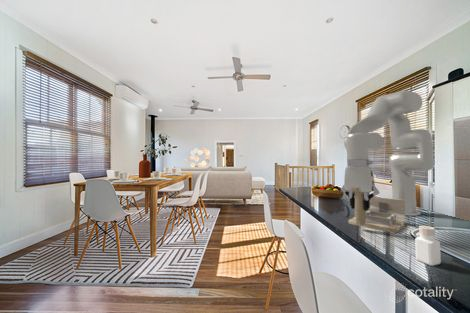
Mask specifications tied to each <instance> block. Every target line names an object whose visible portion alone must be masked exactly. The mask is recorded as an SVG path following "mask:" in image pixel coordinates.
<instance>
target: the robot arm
mask: <svg viewBox="0 0 470 313" xmlns="http://www.w3.org/2000/svg"><path fill="white" fill-rule="evenodd" d="M422 106H423V98H422V96H421V95H420V94H418V92H414V91H408V90H401V91H397V92H391V93H389V94H384V95H381V96H378V97H377V98H376V99H375V100H374V102H373V104H372V105H371V107H370V110H369V111H368V113H367V115H366V116H365V117H363V118H362V119H360V120H359V121H358V122H356V123H355V124H354V125H352V126H351V127H350V129H349V130H348V132H347V133H346V135H345V138H344V142H343V144H344V148H345V150H346V160H347V166H346V167H345V170H344V177H343V178H344V181H343V182H344V184H343V185H342V187H341V188H340V191H341V192H342V193H344V194H345V195H346V196H347V197H348V199H349V206H350V208H351V210H352V209H353V210H354V202H355V195H354V192H353V191H351V187H353V188H360V189H358V191H360V190H361V192H363V193H364V197H365V200H364V210H365V211H367V210H368V209H369V208H370V199H371V198H372V197H376V196H377V195H380V193H381V192H380V191H379V189H378V188H377V187H376V183H375V182H376V181H375V175H374V172H373V168H372V166H370V165H373V164H374V160H370V158H369V152H374V151H378V150H380V149H381V148H382V147H383V145H384V138H383V136H382V135H381V134H379V133H377V132H373V131H378V130H379V129H381V128H383V127H385V126H386V125H387V124H388V126H389V134H390V135H389V136H390V145H391V147H392V148H393V149H395V150H418V151H401V152H400V151H399V152H398V151H397V152H394V153H392V154H390V156H389V157H388V164H389V167H390V172H391V173H390V174H391V190H392V191H391V193H392V199H400V200H404V202H405V216H411V217H413V216H414V217H417V216H420V215H421V214H422V213H421V212H420V211H419V210H417V195H416V194H417V192H416V190H417V188H416V179H415V177H414V175H413V174H412V173H411V172H413V171H415V172H416V171H418V172H421V171H422V172H426V171H432V169H433V168H434V166H435V164H434V163H435V160H434V158H435V157H434V147H433V137H432V134H431V132H430V131H429V130H428V129H423V128H422V129H412V128H411V121H410V119H409V117H408V116H406V115H405V114H408V113H414V112H418V111H419V110H421V108H422ZM410 171H411V172H410Z"/></svg>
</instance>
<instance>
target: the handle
mask: <svg viewBox="0 0 470 313" xmlns="http://www.w3.org/2000/svg"><path fill="white" fill-rule="evenodd" d="M358 189H360V188H353V187H351V191H353V192H354V198H355V202H354V209H353V210H354V217H355V219H356V224H359V225H365V220H366V211H365V210H364V200H365V199H364V193H363V192H361V190H360V191H358Z"/></svg>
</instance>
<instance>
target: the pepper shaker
mask: <svg viewBox="0 0 470 313" xmlns="http://www.w3.org/2000/svg"><path fill="white" fill-rule="evenodd" d="M418 230H419V231H418V232H419V233H418V234H419V236H417V237H416V238H415V239H414V244H415V248H414V249H415V259H416V260H417V261H419V262H421V263H423V264H426V265H428V266H431V267H432V266H437V265H440V264H441V262H442V261H441V258H442V256H441V242H440V241H439V240H437V239H436V228H435V227H432V226H429V225H419V226H418Z"/></svg>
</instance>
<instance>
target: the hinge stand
mask: <svg viewBox="0 0 470 313" xmlns="http://www.w3.org/2000/svg"><path fill="white" fill-rule="evenodd" d="M364 199H365V197H364ZM347 223H348V224H349V225H353V226H359V227H364V228H368V229H374V230H379V231H383V232H387V233H393V234H397V233H398V232H399V231H400V230H401V229H402V228H403V227H404V226H405V225H406V215H405V202H404V200H400V199H393V198H388V197H387V198H386V197H380V196H379V197H377V196H374V197H372V198H371V199H370V208H369V209H368V210H367V211H366V220H365V225H359V224H356V219H355V216H354V217H352V218H350V219H348V222H347Z"/></svg>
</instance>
